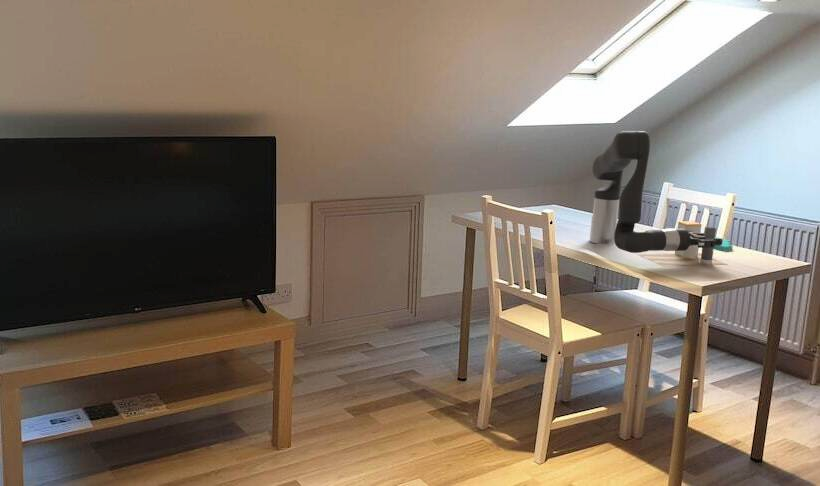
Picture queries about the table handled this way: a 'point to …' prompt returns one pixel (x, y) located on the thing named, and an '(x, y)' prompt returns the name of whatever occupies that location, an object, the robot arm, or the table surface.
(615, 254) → the table surface
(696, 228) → the white orange-topped block
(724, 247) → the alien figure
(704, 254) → the dark grey tall block
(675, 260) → the subfloor panel
